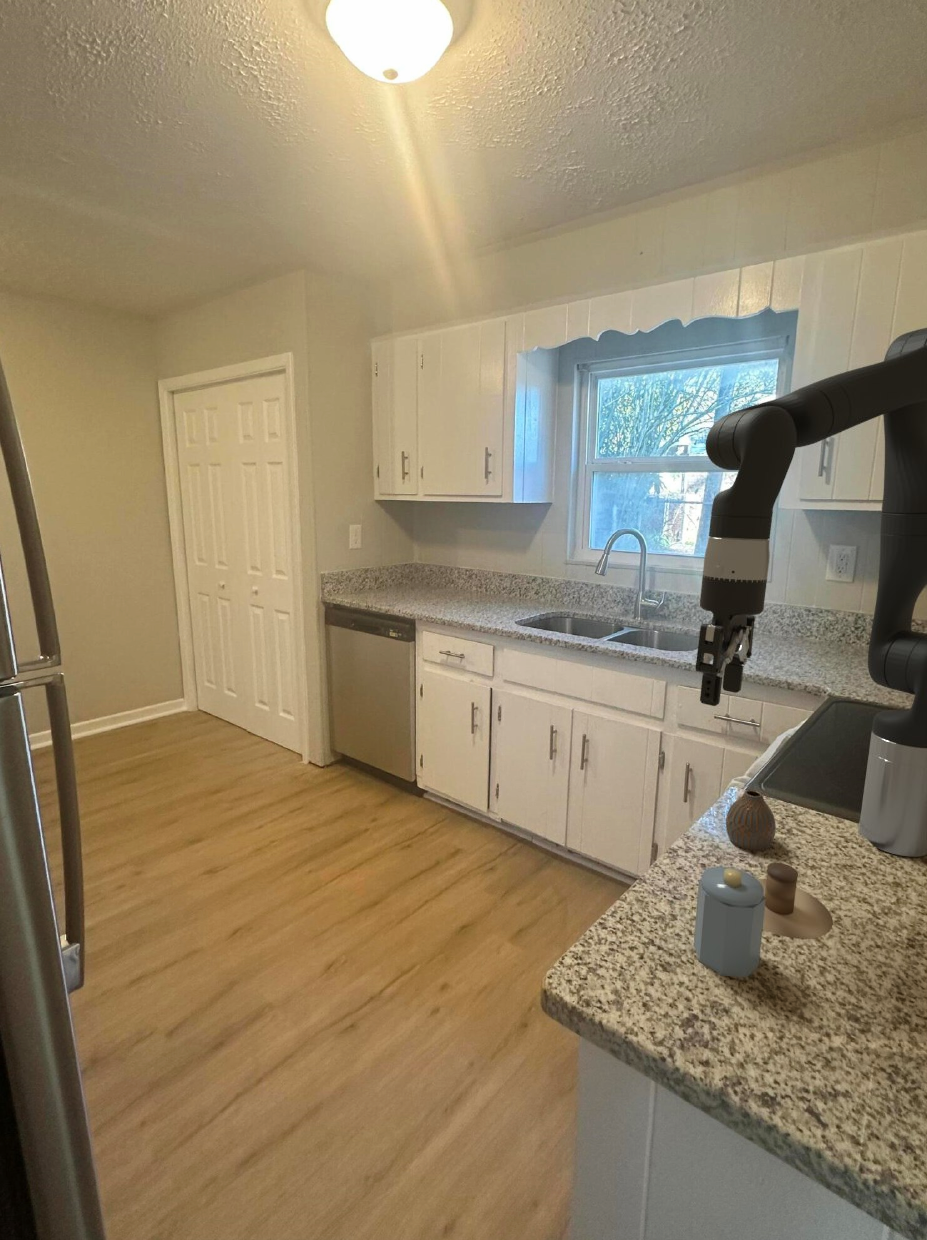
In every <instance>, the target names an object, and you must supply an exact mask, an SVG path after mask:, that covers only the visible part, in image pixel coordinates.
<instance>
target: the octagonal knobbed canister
mask: <svg viewBox="0 0 927 1240" xmlns="http://www.w3.org/2000/svg"><path fill="white" fill-rule="evenodd" d="M757 879H758V878H756V877H755V876H754V875H752V874H750V873H748V872H746V871H743V870H742V869H739V868H734V867H732V866H731V867H730V866H721V865H720V866H719V865H718V866H712V867H709V868H706V869H705V870H704V871H702V874H701V878H700V879H699V880H698V887H697V900H696V910H695V911H696V914H695V924H694V926H695V927H694V935H693V936H694V937H693V947H694V950H695V953H696V956H697V958H698V961H699V962H700V963H701V964H703V965H704V966H706V967H707V968H709V969H711V970H713V971H714V972H715V973H717V974H719V975H721V976H724V977H725V976H727V977H737V978H748V977H749V976H750V975H751V974H752V973H753V972H754V971H755V970H756V969H758V967H760V958H761V946H762V940H763V939H762V937H763V920H764V911H765V901H766V898H765V897H764V895H763V893H764V889H763V886H762V884H761V883H760V882H759V881H758V880H757Z"/></svg>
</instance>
